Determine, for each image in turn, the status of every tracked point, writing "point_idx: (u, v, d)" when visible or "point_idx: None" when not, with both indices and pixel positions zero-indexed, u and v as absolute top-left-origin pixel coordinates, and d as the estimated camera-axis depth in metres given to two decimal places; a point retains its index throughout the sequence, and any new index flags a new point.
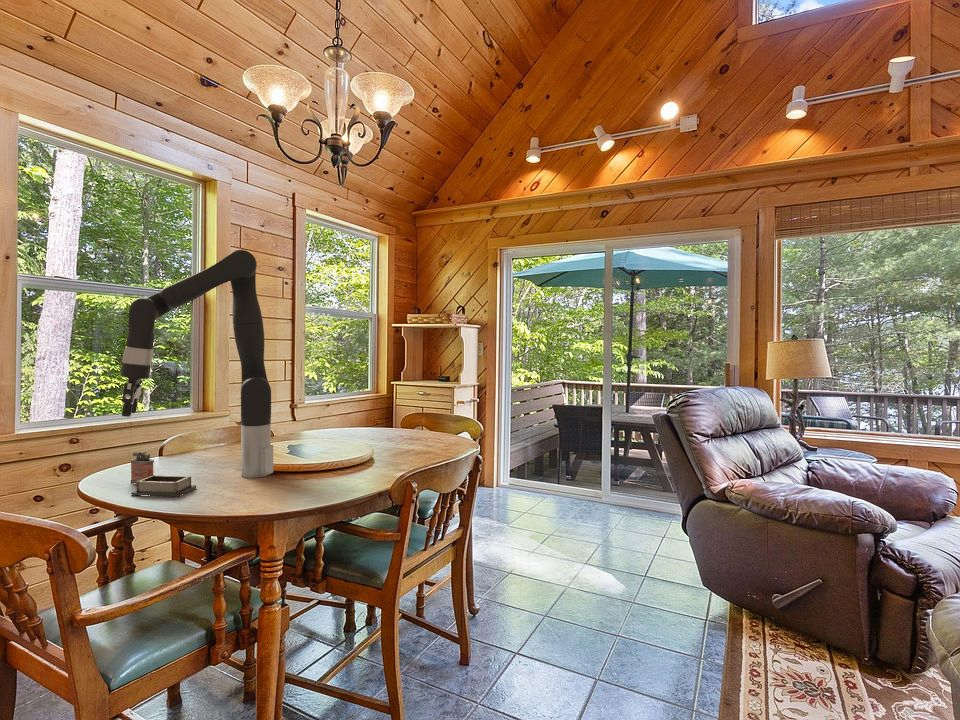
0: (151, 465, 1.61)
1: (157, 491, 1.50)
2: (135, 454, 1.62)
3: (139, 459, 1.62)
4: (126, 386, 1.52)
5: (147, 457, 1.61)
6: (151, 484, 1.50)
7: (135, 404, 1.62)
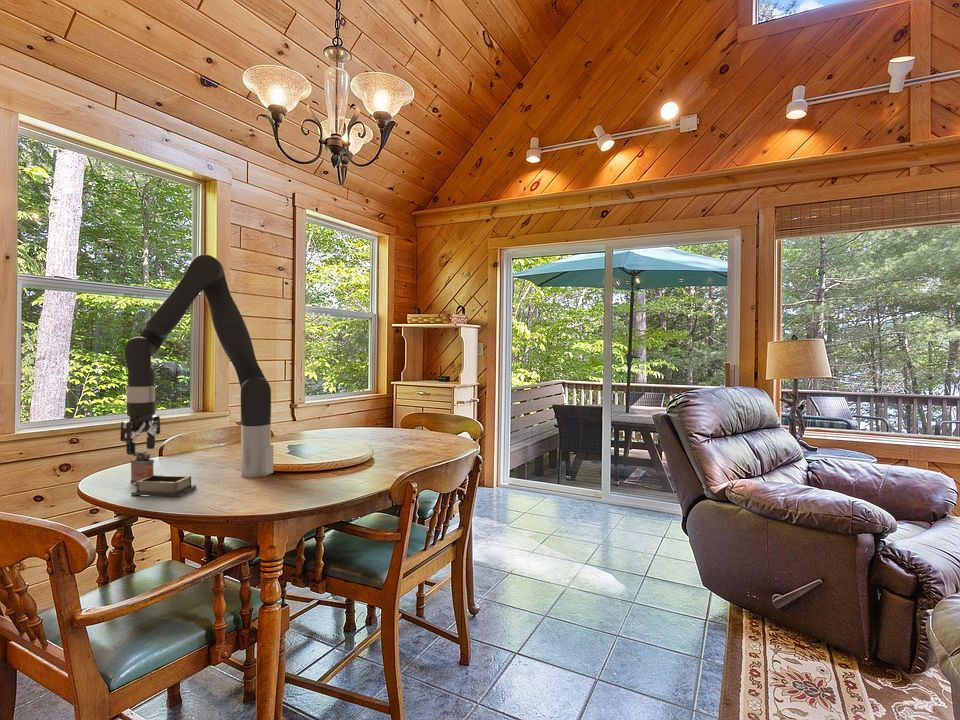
0: (151, 465, 1.61)
1: (157, 491, 1.50)
2: (135, 454, 1.62)
3: (139, 459, 1.62)
4: (122, 425, 1.55)
5: (147, 457, 1.61)
6: (151, 484, 1.50)
7: (151, 440, 1.66)
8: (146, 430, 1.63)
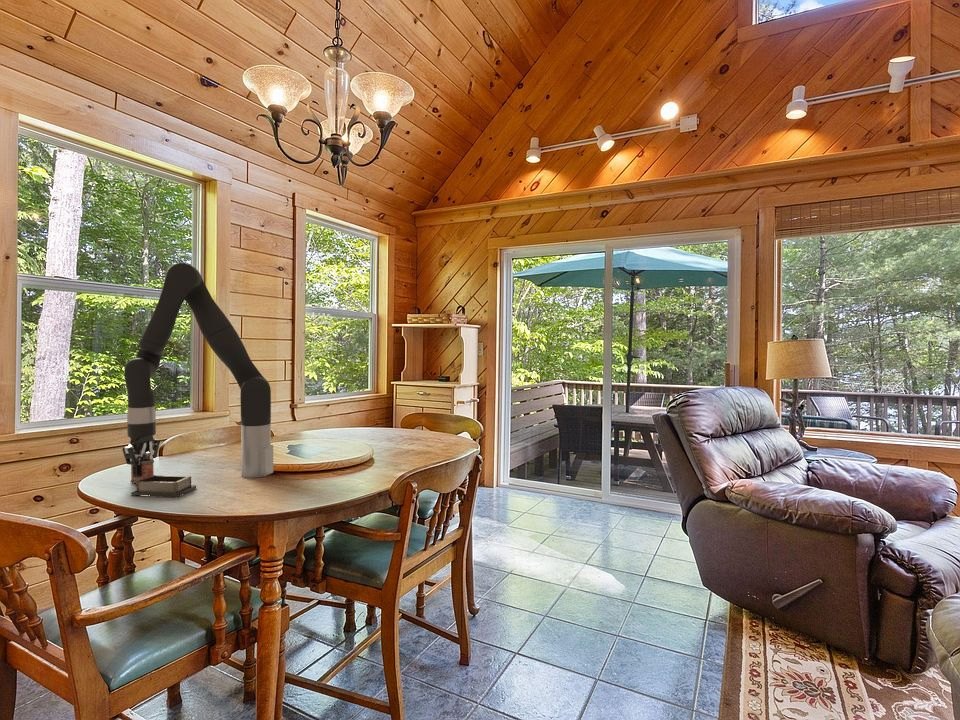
0: (151, 465, 1.61)
1: (157, 491, 1.50)
2: None
3: None
4: (124, 451, 1.56)
5: (147, 457, 1.61)
6: (151, 484, 1.50)
7: None
8: (145, 450, 1.62)
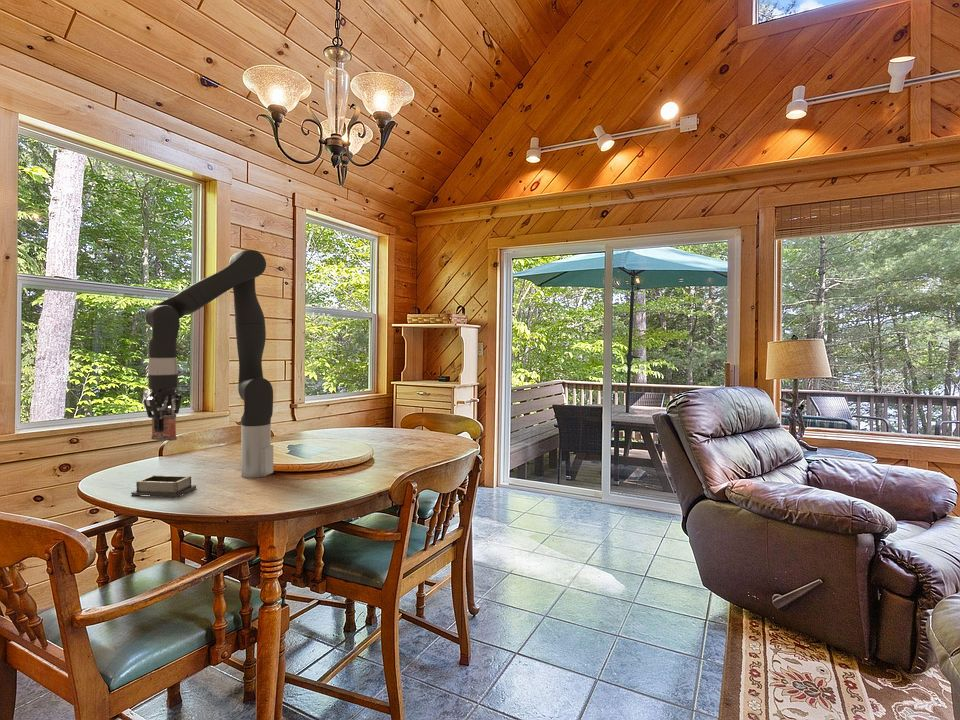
0: (173, 419, 1.52)
1: (157, 491, 1.50)
2: None
3: None
4: (146, 403, 1.47)
5: (169, 411, 1.52)
6: (151, 484, 1.50)
7: None
8: (167, 404, 1.53)
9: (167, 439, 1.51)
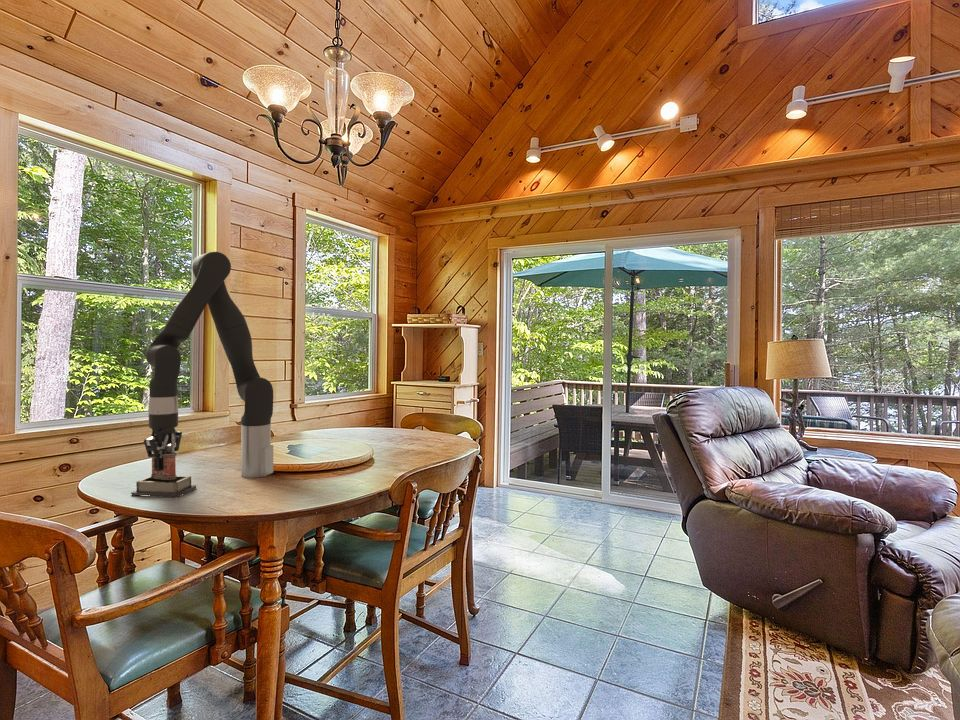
0: (173, 458, 1.52)
1: (157, 491, 1.50)
2: None
3: None
4: (146, 443, 1.47)
5: (169, 450, 1.52)
6: (151, 484, 1.50)
7: None
8: (167, 442, 1.53)
9: (167, 477, 1.52)
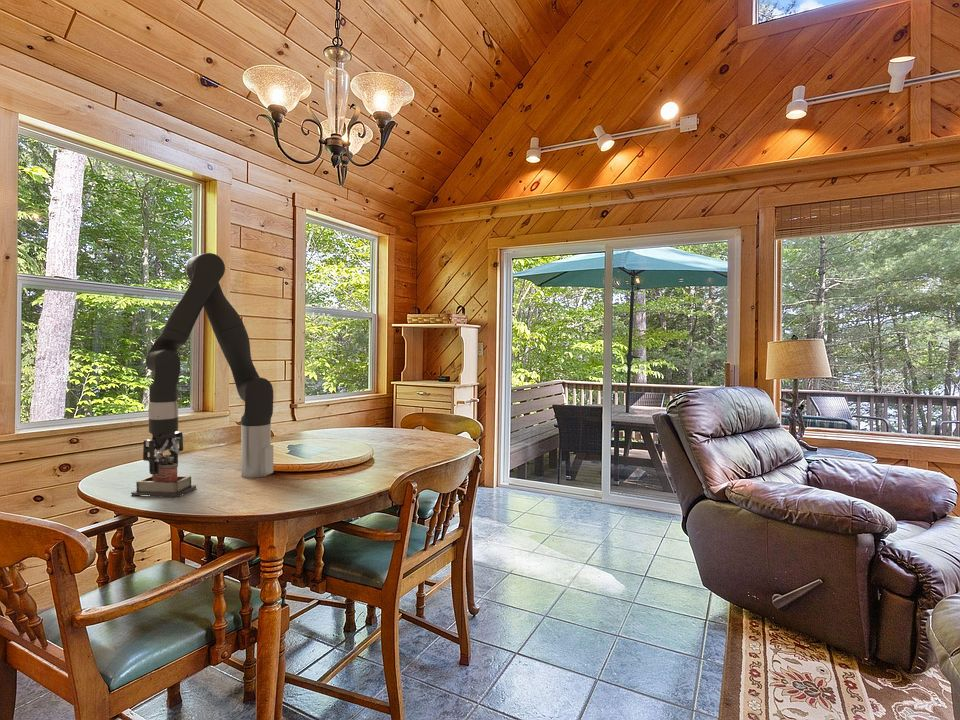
0: (175, 469, 1.53)
1: (157, 491, 1.50)
2: None
3: (162, 463, 1.53)
4: (145, 444, 1.46)
5: (171, 461, 1.53)
6: (151, 484, 1.50)
7: (174, 458, 1.57)
8: (169, 448, 1.54)
9: None
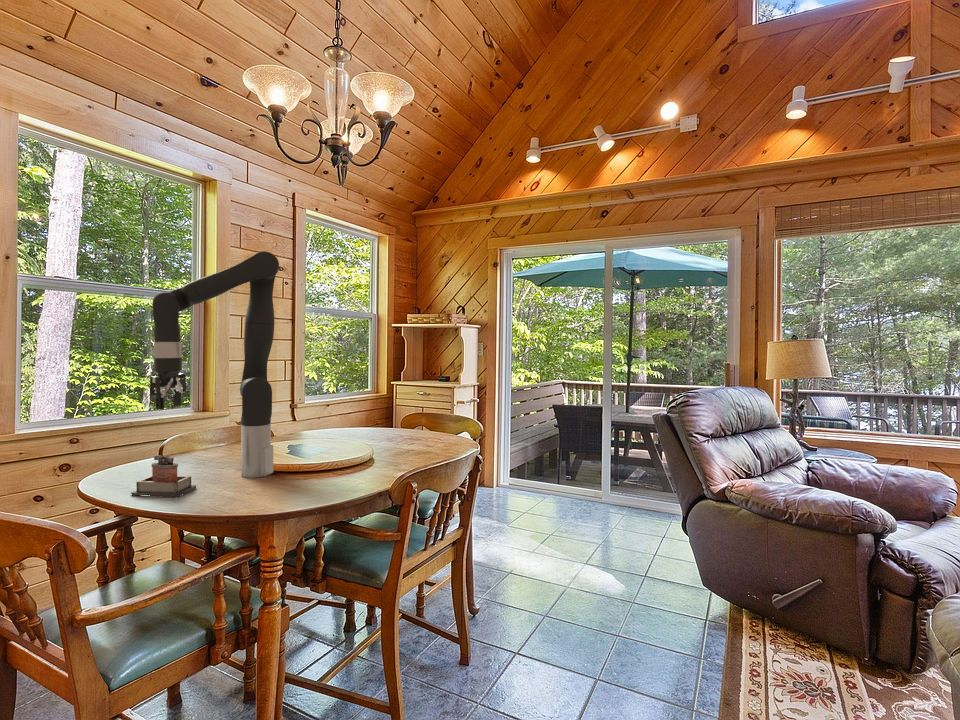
0: (175, 469, 1.53)
1: (157, 491, 1.50)
2: (157, 458, 1.53)
3: (162, 463, 1.53)
4: (151, 380, 1.55)
5: (171, 461, 1.53)
6: (151, 484, 1.50)
7: (178, 397, 1.66)
8: (173, 386, 1.63)
9: None
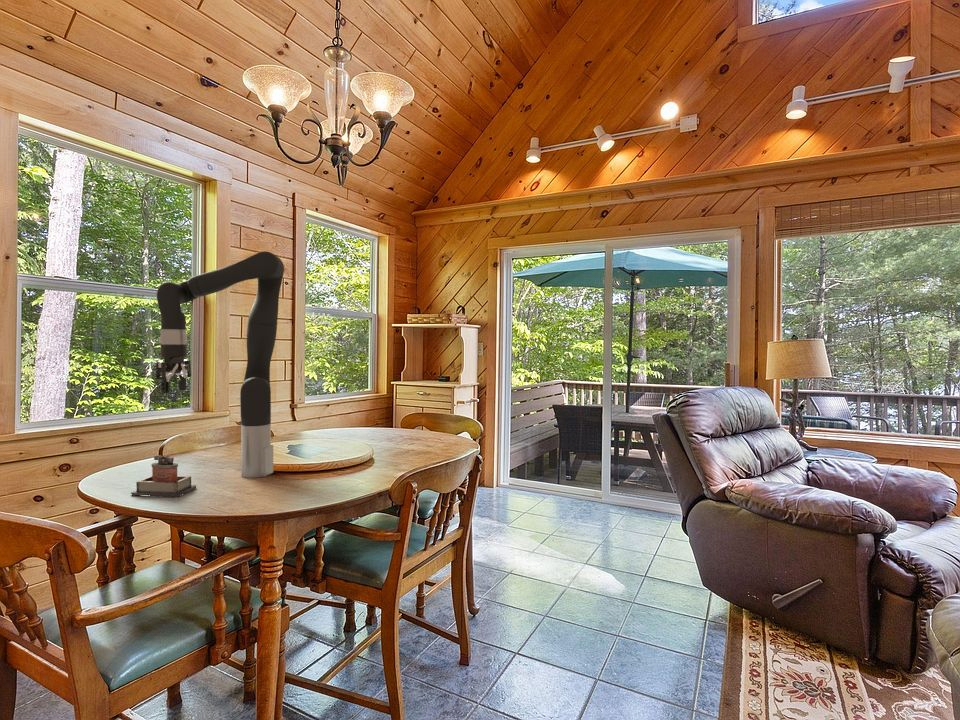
0: (175, 469, 1.53)
1: (157, 491, 1.50)
2: (157, 458, 1.53)
3: (162, 463, 1.53)
4: (157, 365, 1.64)
5: (171, 461, 1.53)
6: (151, 484, 1.50)
7: (183, 382, 1.75)
8: (178, 372, 1.72)
9: None
